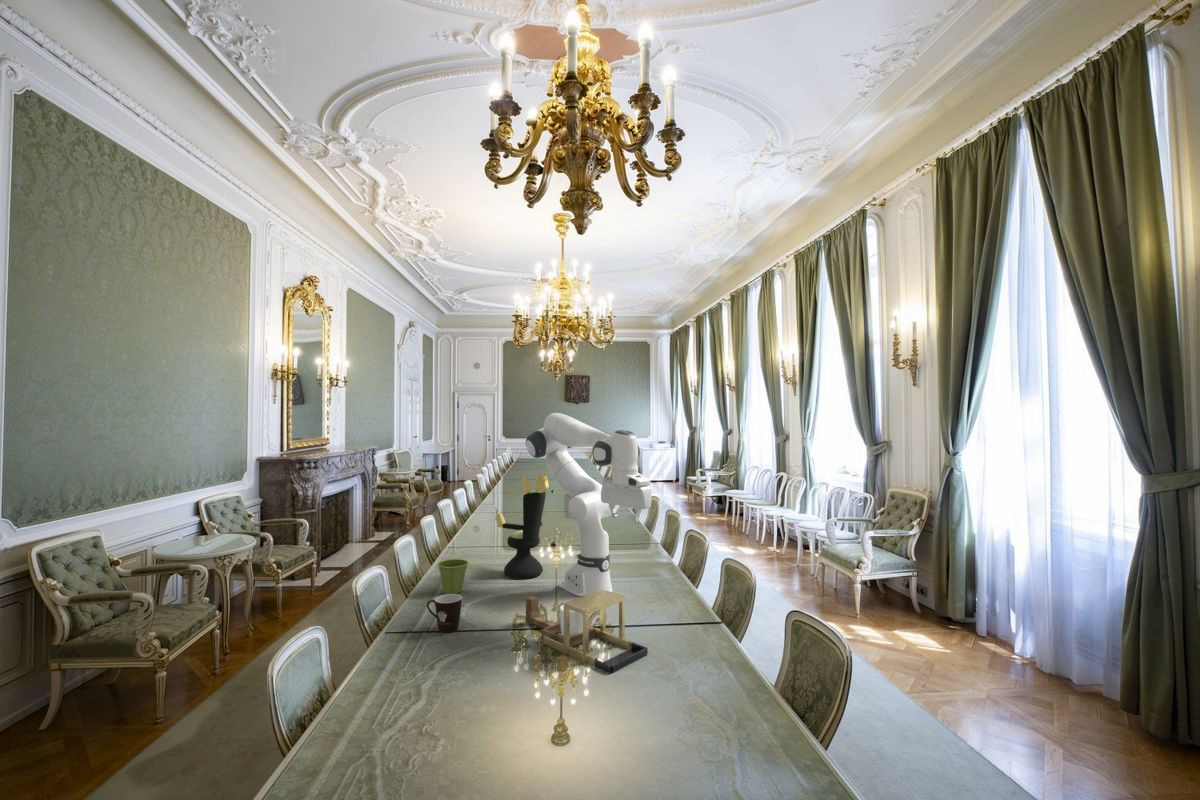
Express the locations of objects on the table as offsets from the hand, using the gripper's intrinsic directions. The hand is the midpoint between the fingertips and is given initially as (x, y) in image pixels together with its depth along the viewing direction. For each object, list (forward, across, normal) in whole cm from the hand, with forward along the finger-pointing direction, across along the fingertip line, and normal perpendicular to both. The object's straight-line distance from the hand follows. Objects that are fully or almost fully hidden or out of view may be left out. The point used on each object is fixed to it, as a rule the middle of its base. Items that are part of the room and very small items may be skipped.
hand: (625, 519), depth 190 cm
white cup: (+34, -2, -24) cm, 42 cm away
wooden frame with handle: (+34, -10, -24) cm, 42 cm away
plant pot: (+34, -67, -25) cm, 79 cm away
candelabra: (+34, -63, +9) cm, 72 cm away
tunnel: (+34, +8, -24) cm, 42 cm away
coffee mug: (+34, -38, -46) cm, 68 cm away
